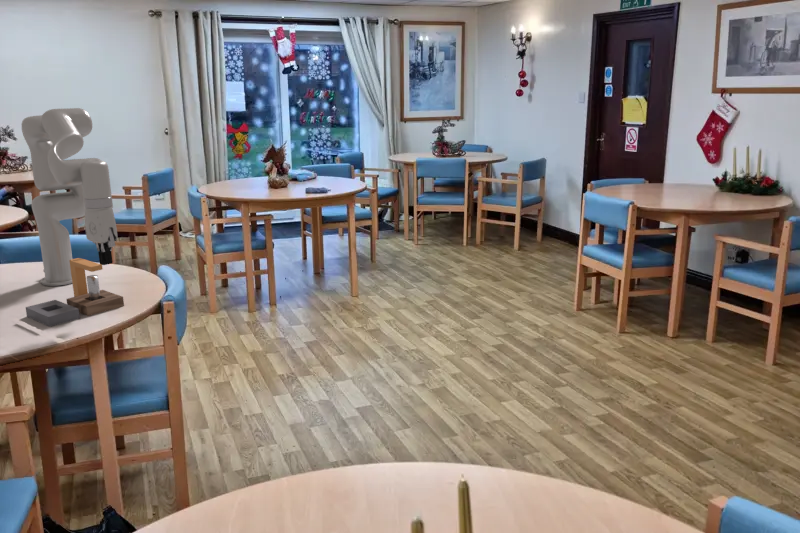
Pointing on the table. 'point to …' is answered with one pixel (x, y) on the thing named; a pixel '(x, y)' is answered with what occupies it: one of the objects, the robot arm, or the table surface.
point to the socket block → (96, 303)
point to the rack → (52, 313)
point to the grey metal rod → (93, 287)
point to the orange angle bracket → (81, 274)
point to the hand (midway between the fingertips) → (106, 263)
